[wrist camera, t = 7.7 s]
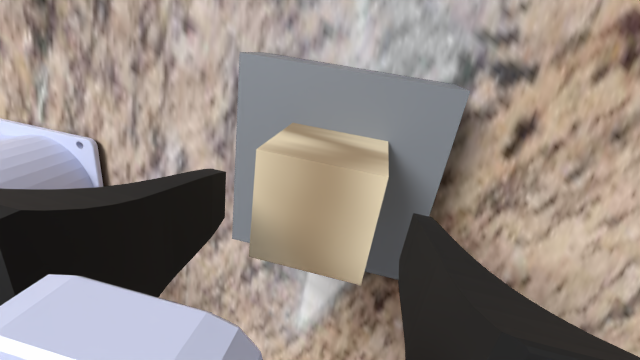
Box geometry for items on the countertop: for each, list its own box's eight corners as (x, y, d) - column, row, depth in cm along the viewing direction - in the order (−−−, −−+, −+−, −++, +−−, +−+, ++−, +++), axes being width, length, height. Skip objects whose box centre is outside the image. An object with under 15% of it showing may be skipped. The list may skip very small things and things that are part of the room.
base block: (252, 214, 21) (232, 238, 18) (263, 52, 17) (239, 52, 14) (404, 250, 19) (407, 282, 17) (455, 84, 15) (470, 91, 13)
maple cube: (283, 206, 16) (248, 256, 12) (292, 122, 15) (256, 149, 11) (367, 225, 16) (360, 285, 12) (388, 141, 14) (388, 177, 10)
